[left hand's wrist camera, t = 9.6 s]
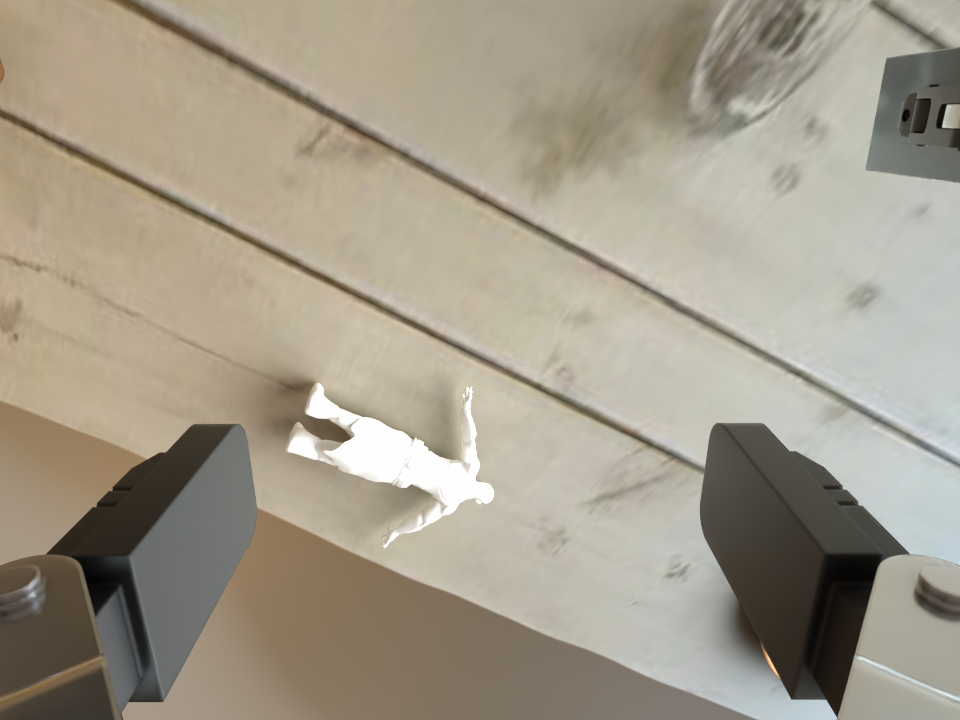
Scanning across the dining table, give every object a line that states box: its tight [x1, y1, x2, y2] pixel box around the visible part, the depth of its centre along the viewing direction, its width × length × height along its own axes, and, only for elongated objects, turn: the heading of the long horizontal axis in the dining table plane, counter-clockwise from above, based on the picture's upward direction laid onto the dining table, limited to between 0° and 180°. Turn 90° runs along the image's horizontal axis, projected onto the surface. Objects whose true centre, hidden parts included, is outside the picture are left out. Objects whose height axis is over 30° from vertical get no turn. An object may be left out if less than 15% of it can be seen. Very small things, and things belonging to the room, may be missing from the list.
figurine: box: [285, 383, 494, 548], centre depth 54 cm, size 17×5×18 cm
